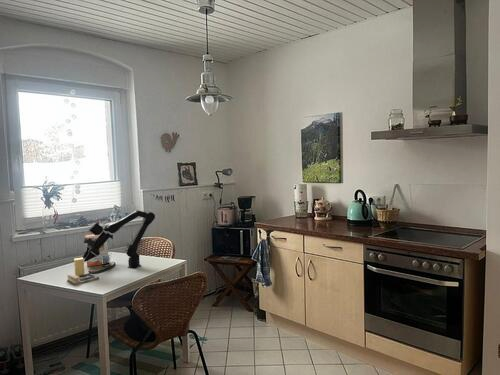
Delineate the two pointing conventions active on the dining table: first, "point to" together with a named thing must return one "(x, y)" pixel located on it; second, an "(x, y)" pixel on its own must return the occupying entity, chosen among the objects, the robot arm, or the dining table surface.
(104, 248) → the cracker box
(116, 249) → the dining table surface
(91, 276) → the flat tray
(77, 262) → the pillar
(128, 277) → the dining table surface
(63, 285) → the dining table surface
